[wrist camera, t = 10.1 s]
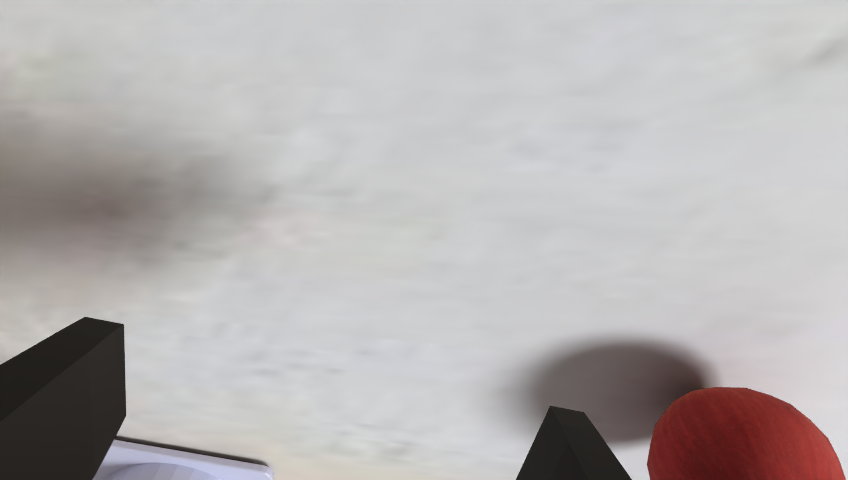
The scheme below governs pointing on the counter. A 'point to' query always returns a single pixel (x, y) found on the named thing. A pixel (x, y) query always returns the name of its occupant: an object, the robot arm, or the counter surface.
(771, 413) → the onion
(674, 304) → the counter surface
